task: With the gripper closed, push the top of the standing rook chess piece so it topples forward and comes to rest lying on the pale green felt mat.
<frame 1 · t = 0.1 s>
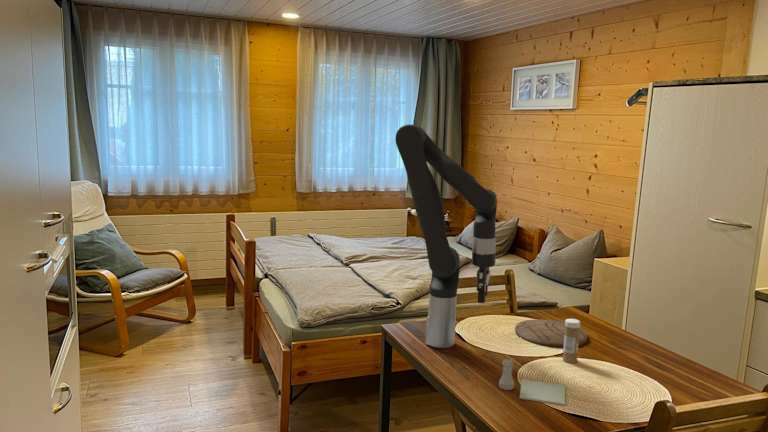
hand: (482, 299, 193), 17 cm above the table, tool pointing down, fingers open, 8 cm apart
trivet: (550, 336, 211), on the table
rook chess piece: (506, 387, 167), on the table
sprinkles bottle: (569, 361, 188), on the table
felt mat: (542, 392, 164), on the table
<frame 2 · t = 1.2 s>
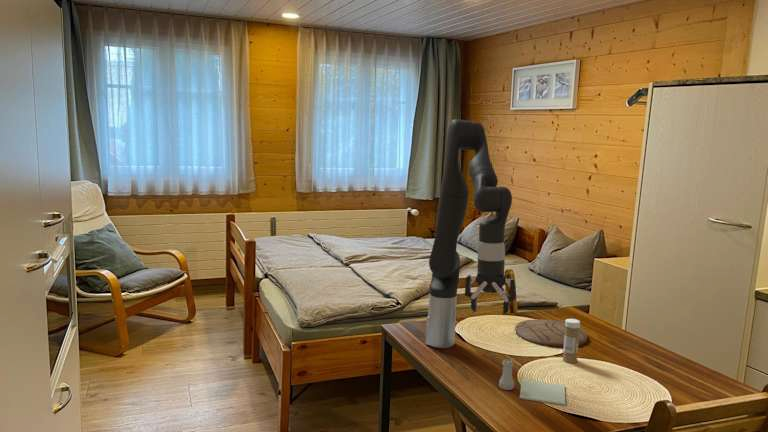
hand: (489, 312, 168), 21 cm above the table, tool pointing down, fingers open, 8 cm apart
nothing on the table moved.
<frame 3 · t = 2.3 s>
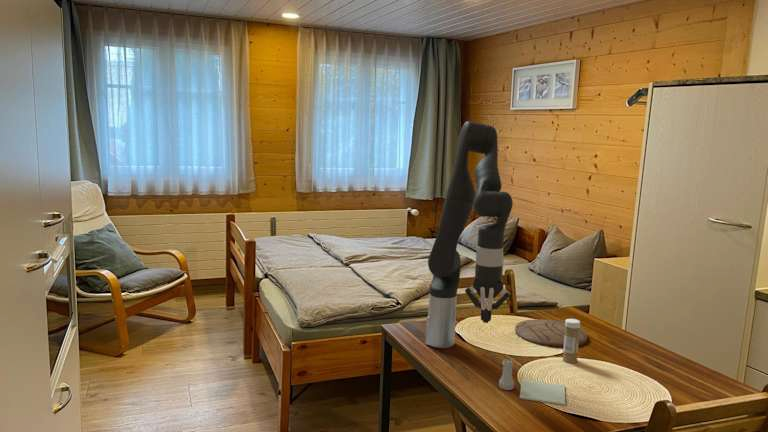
hand: (485, 321, 166), 18 cm above the table, tool pointing down, fingers closed
nothing on the table moved.
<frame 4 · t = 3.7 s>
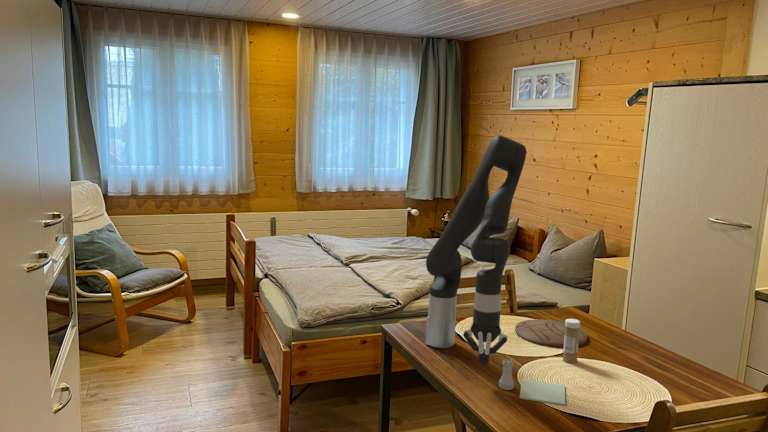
hand: (483, 365, 168), 6 cm above the table, tool pointing down, fingers closed
nothing on the table moved.
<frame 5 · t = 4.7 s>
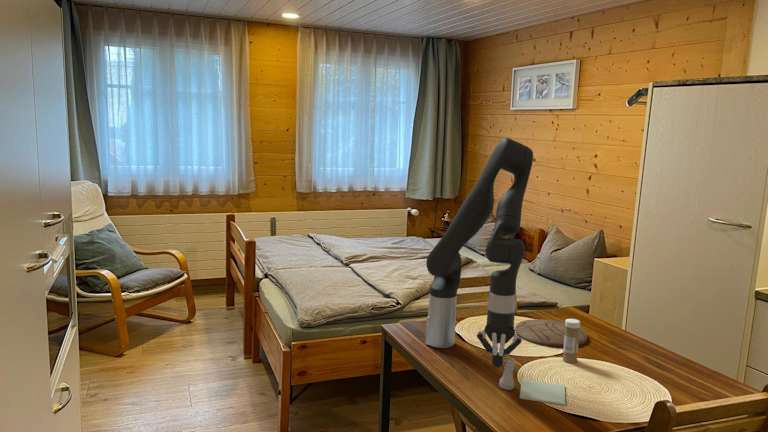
hand: (497, 366, 166), 6 cm above the table, tool pointing down, fingers closed
rook chess piece: (506, 387, 167), on the table, touching gripper
everything else where it was.
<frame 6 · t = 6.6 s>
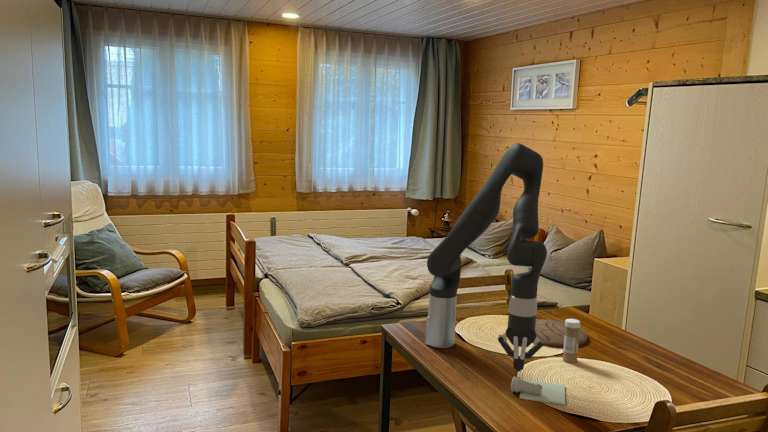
hand: (518, 370, 165), 6 cm above the table, tool pointing down, fingers closed
rook chess piece: (511, 383, 164), point 2 cm above the table, touching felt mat
everything else where it was.
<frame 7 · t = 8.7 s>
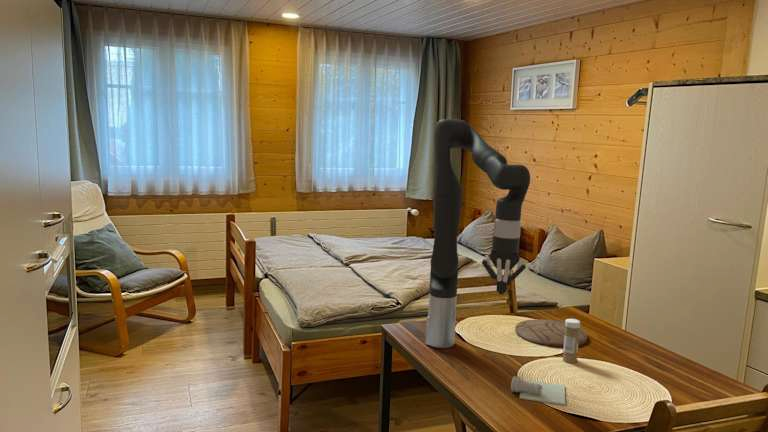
hand: (501, 293, 169), 26 cm above the table, tool pointing down, fingers closed
nothing on the table moved.
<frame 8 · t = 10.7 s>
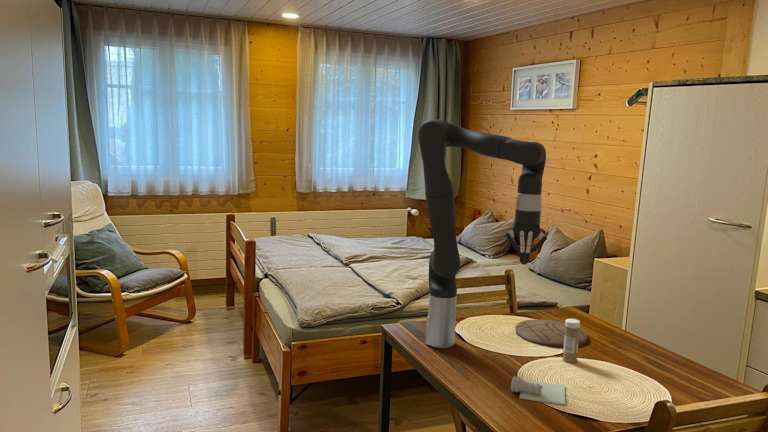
hand: (524, 264, 179), 32 cm above the table, tool pointing down, fingers closed
nothing on the table moved.
at the end: rook chess piece tilted 91°; rook chess piece inside the target area (7.2 cm from its centre), point 2.2 cm above the table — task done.
